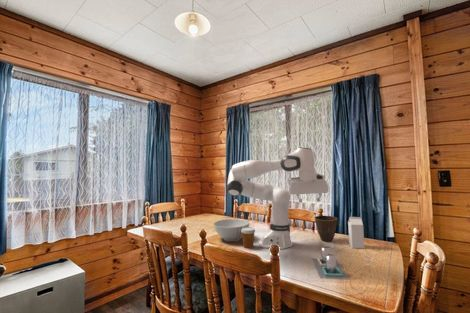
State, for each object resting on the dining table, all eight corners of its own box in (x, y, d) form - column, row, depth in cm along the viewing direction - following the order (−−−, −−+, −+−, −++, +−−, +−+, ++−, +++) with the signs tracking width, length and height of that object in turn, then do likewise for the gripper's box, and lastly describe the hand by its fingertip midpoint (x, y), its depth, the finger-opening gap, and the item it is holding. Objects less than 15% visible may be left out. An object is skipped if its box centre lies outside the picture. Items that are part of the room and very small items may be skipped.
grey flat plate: (320, 281, 106) (320, 275, 106) (311, 261, 129) (311, 256, 129) (350, 282, 104) (350, 277, 104) (336, 262, 127) (336, 257, 127)
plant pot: (335, 245, 153) (334, 221, 154) (312, 241, 162) (311, 218, 163) (340, 239, 165) (339, 217, 166) (319, 236, 174) (318, 214, 175)
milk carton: (364, 248, 146) (362, 218, 147) (352, 248, 147) (350, 218, 148) (360, 244, 153) (359, 216, 154) (349, 244, 154) (347, 215, 155)
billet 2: (327, 274, 109) (327, 257, 110) (325, 270, 114) (324, 254, 114) (337, 275, 109) (336, 257, 109) (335, 270, 113) (334, 254, 114)
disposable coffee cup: (247, 243, 162) (246, 226, 162) (258, 246, 156) (257, 228, 156) (238, 247, 154) (238, 229, 155) (250, 250, 148) (249, 231, 149)
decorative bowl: (250, 244, 159) (250, 227, 160) (212, 245, 160) (211, 227, 160) (249, 233, 186) (248, 218, 187) (216, 234, 186) (215, 219, 187)
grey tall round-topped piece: (322, 265, 120) (322, 249, 121) (321, 261, 125) (320, 246, 125) (332, 265, 120) (331, 249, 120) (329, 261, 124) (329, 246, 124)
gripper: (288, 178, 126) (290, 203, 125) (327, 175, 121) (330, 202, 121) (287, 177, 132) (289, 201, 131) (325, 175, 128) (327, 200, 127)
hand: (309, 201), depth 126 cm, fingers open, 8 cm apart
